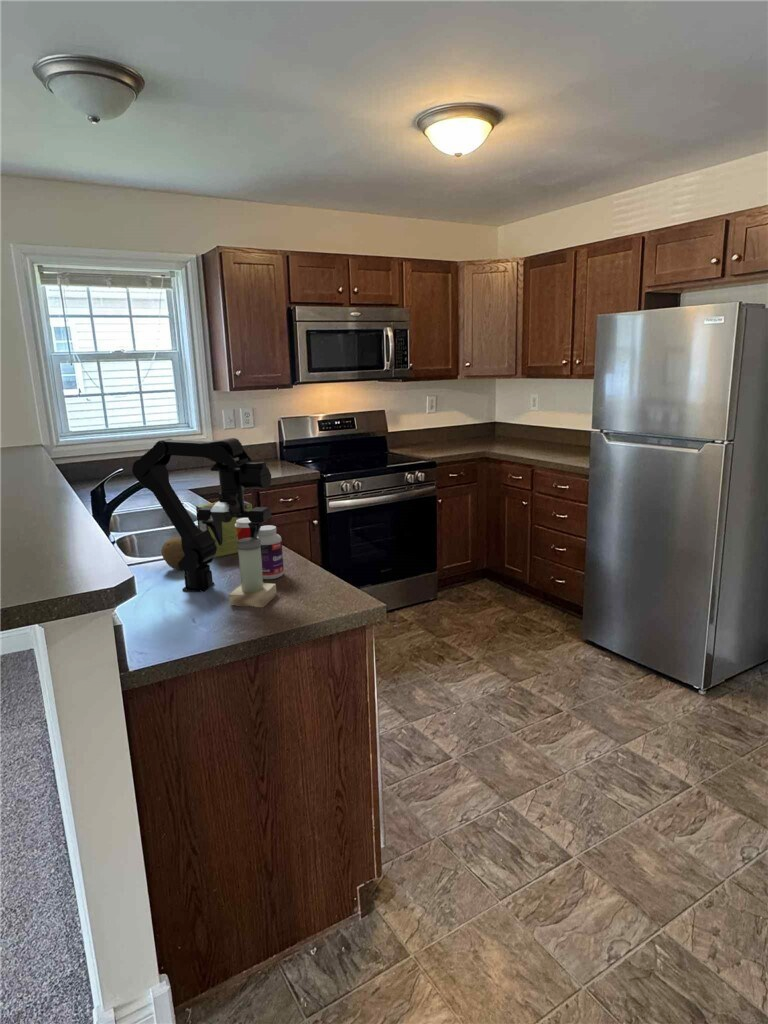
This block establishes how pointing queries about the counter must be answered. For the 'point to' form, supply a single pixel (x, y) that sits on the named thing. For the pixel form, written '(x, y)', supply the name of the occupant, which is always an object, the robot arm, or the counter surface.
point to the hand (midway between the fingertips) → (236, 545)
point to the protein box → (224, 533)
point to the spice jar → (250, 564)
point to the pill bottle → (271, 552)
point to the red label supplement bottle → (242, 528)
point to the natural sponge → (173, 552)
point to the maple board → (253, 596)
